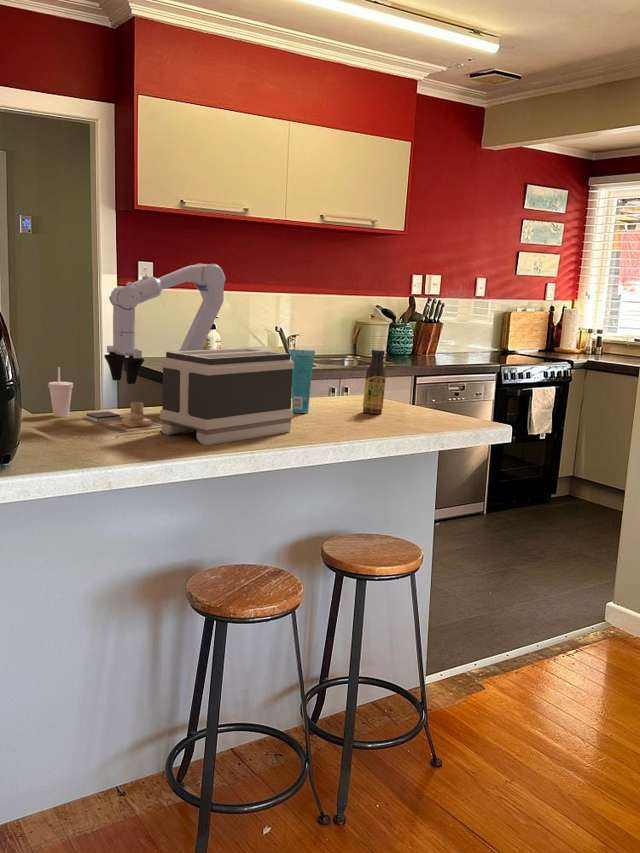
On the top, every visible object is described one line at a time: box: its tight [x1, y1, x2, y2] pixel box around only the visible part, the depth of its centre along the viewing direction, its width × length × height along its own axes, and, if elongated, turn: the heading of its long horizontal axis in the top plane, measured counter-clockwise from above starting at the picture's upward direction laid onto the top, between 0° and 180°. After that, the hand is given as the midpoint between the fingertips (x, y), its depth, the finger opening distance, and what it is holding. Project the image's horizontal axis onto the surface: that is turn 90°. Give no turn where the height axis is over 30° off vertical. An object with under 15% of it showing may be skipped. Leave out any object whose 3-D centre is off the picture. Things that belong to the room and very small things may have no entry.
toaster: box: [158, 347, 294, 447], centre depth 204 cm, size 18×34×21 cm, turn 138°
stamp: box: [122, 401, 152, 428], centre depth 203 cm, size 6×4×6 cm
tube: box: [289, 349, 316, 414], centre depth 237 cm, size 7×5×19 cm, turn 99°
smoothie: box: [47, 366, 74, 418], centre depth 211 cm, size 6×6×14 cm
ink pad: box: [83, 410, 123, 423], centre depth 210 cm, size 8×7×1 cm
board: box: [77, 412, 162, 437], centre depth 208 cm, size 18×22×1 cm
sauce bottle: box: [362, 348, 387, 415], centre depth 243 cm, size 7×6×20 cm
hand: (123, 382), depth 213 cm, fingers open, 7 cm apart
